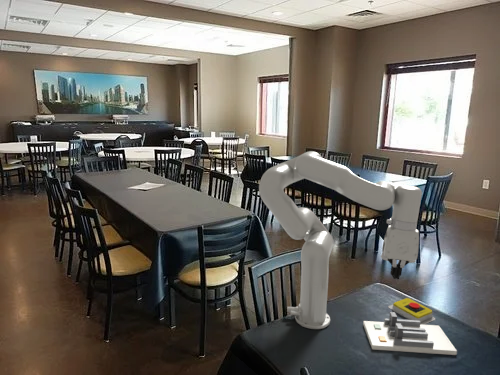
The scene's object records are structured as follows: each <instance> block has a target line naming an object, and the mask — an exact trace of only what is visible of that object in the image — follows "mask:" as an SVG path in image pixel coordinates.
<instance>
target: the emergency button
mask: <svg viewBox="0 0 500 375" xmlns="http://www.w3.org/2000/svg"><path fill="white" fill-rule="evenodd" d="M387 307H388V309H390V310H391V311H392V312H395V313H396V314H398V315H400V316H402V317H404V318H406V320H417V321H420V322H421V323H420V324H422V325H428V324H429V323H432V322H433V321H436V318H435V317H434V316H433V310H432V309H430V308H429V307H426V306H425V305H422V304H421V303H419V302H417V301H415V300H413V299H412V298H409V297H405V298H403V299H400V300H398V301H394V302H393V303H392V304H389V305H388V306H387Z"/></svg>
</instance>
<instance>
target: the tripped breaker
mask: <svg viewBox="0 0 500 375" xmlns="http://www.w3.org/2000/svg"><path fill="white" fill-rule="evenodd" d="M394 337H395V339H402V337H403V327H402V325H401V323H396V324H395V334H394Z"/></svg>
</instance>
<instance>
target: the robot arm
mask: <svg viewBox="0 0 500 375" xmlns="http://www.w3.org/2000/svg"><path fill="white" fill-rule="evenodd" d="M304 179H306V180H308V181H311V182H313V183H316V184H318V185H321V186H324V187H326V188H329V189H331V190H334V191H335V192H337V193H338V194H340V195H342V196H344V197H346V198H348V199H350V200H352V201H353V202H356V203H358V204H361V205H363V206H365V207H368V208H371V209H373V210H377V211H385V210H388V209H390V208H392V206H393V209H392V213H391V214H392V216H391V217H390V218H389V219H388V218H387V219H386V224H388V227H387V229H386V232H385V235H384V238H383V243H382V248H381V249H382V250H381V251H382V253H381V254H380V258H381V260H384V261H386V262H389V264H390V265H391V268H390V275H391V276H392V278H393V280H399V279H400V277H402V272H403V268H405V266H407V265H409V264H413V263H414V264H415V263H416V262H417V260H418V256H419V255H418V254H419V244H420V232H419V230H418V229H417V225H418V219H419V213H420V207H421V200H422V195H423V192H422V189H421V188H419V187H417V186H414V185H408V184H407V185H405V184H402V185H401V184H398V183H393V182H390V181H384V180H380V181H377V182H375V183H374V182H371V181H368V180H366V179H364V178H362V177H359V176H358V175H357V174H355V173H353V171H352V170H351V169H350V168H348V167H347V166H345V165H342V164H340V163H338V162H337V163H336V162H334V161H332V160H329V159H325V158H323V156H322V155H321V154H320V153H318V152H316V151H313V150H309V151H306V152H304V153H301V154H299V155H298V156H296V157H293V158H291V159H287V161H284V162H280V163H278V164H276V165H274V166H271V167H270V168H268V169H267V170H265V172H264V173H263V174H262V176H261V179H260V181H259V184H258V191H259V192H258V193H259V196H260V198H261V200H262V202H263V203H264V205H265V206H266V207H267V209H268V210H269V211H270V212H271V213H272V215H273V217H274V218H275V219H276V221H277V222H278V223H279V225H280V226H281V227H282V228H283V230H284V231H285V233H286V234H287V235H288V236H289V237H290V238H291V239H293V240H295V241H296V240H298V241H299V240H304V241H305V242H304V243H303V245H302V248H301V251H300V264H301V267H300V268H301V272H300V273H301V277H300V295H299V296H300V300H299V303H298V306H286V307H287V308H286V309H287V310H286V312H287V313H290V315H291V316H294V318H295V322H296V323H297V324H299V326H301V327H304V328H306V329H311V330H321V329H322V330H323V329H325V328H326V327H328V326H330V323H331V317H330V315H329V314H328V313H327V306H328V304H327V302H328V290H329V268H330V267H329V262H330V256H331V254H332V250H333V248H334V244H335V243H334V239H333V235H331V232H329V230H328V229H327V228H326V226H325V225H324V224H323V223H322V221H321V220H320V219H319V218H318V216H317V215H316V214H315V213H314V212H313V211H312V210H311V209H309V208H308V207H302V206H301V207H298V206H297V205H296V203H295V202H294V200H293V199H292V198H291V197H290V196H289V195H288V194H286V192H285V188H286V187H288V186H289V185H292V184H293V183H296V182H299V181H301V180H304ZM397 262H398V263H397Z"/></svg>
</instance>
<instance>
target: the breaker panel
mask: <svg viewBox="0 0 500 375" xmlns="http://www.w3.org/2000/svg"><path fill="white" fill-rule="evenodd" d="M397 323H401V325H402V327H403V337H402V339H395V337H394V334H395V327H393V326H389V318H386V317H385V318H384V320H383V321H372V320H369V321H368V320H363V324H362V325H363V327H364V331H365V333H366V336H367V339H368V343H369V344H370V347H371V350H378V351H392V352H404V353H405V352H407V353H421V354H435V355H436V354H437V355H449V356H450V355H452V356H456V355H457V354H458V350H457V348H455V346H454V345H453V343H452V342H451V341H450V339H449V338H448V336H447V335H446V333H445V332H444V330H443V329H442V328H441V327H440V325H435V324H425V325H422V324H420V323H421V322H420V321H417V320H409V319H398V318H397Z"/></svg>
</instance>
